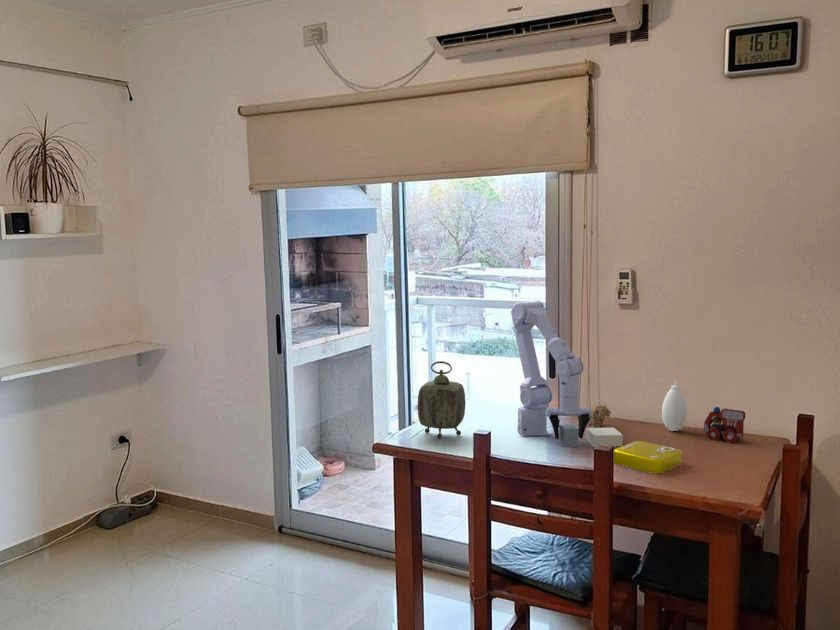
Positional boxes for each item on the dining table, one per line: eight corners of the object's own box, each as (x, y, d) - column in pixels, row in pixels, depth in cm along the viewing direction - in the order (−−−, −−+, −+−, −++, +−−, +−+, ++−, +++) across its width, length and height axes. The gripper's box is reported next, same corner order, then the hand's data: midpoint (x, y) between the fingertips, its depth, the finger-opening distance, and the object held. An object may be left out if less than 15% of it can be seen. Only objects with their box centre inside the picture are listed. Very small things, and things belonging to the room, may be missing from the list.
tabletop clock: (465, 434, 241) (465, 360, 239) (459, 442, 233) (460, 364, 230) (423, 431, 245) (423, 358, 242) (415, 438, 237) (415, 362, 234)
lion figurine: (612, 432, 244) (613, 406, 243) (597, 432, 244) (597, 406, 243) (595, 421, 259) (596, 396, 258) (581, 421, 258) (581, 396, 257)
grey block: (564, 446, 228) (564, 429, 227) (558, 441, 234) (559, 424, 233) (578, 446, 228) (578, 429, 228) (572, 441, 234) (573, 424, 234)
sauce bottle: (689, 430, 246) (691, 378, 244) (680, 435, 240) (683, 381, 238) (666, 426, 251) (668, 375, 249) (657, 431, 245) (659, 378, 243)
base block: (593, 448, 227) (594, 435, 227) (586, 440, 236) (586, 428, 236) (622, 447, 228) (622, 435, 227) (613, 439, 237) (613, 427, 236)
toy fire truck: (708, 433, 242) (709, 403, 241) (747, 440, 234) (748, 408, 233) (700, 438, 237) (701, 406, 236) (740, 445, 229) (741, 412, 228)
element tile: (636, 453, 222) (637, 438, 221) (684, 464, 211) (684, 448, 211) (610, 464, 211) (610, 448, 211) (658, 476, 201) (659, 459, 200)
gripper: (549, 399, 225) (549, 442, 226) (596, 398, 226) (595, 440, 227) (544, 394, 232) (543, 435, 233) (589, 393, 233) (588, 434, 234)
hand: (568, 438), depth 231 cm, fingers open, 7 cm apart
